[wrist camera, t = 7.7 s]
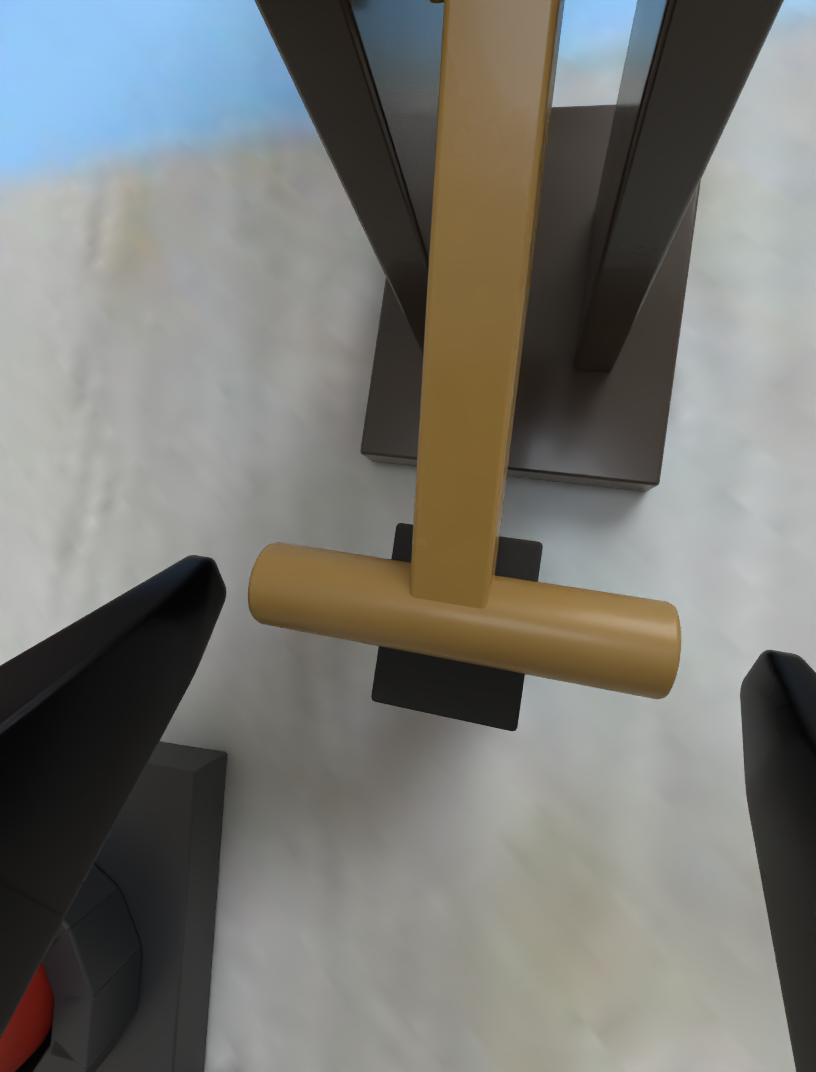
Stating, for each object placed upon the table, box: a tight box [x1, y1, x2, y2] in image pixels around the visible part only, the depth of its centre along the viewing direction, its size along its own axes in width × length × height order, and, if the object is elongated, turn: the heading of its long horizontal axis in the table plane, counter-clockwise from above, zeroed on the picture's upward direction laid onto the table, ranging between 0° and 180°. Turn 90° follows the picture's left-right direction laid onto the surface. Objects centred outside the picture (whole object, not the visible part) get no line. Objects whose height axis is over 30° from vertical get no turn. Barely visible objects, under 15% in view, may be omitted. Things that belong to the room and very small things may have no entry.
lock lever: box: [248, 0, 681, 699], centre depth 6 cm, size 11×6×2 cm, turn 172°
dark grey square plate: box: [15, 742, 227, 1072], centre depth 16 cm, size 12×9×4 cm
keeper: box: [371, 523, 543, 731], centre depth 12 cm, size 3×2×7 cm
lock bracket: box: [255, 0, 784, 491], centre depth 9 cm, size 10×8×13 cm
